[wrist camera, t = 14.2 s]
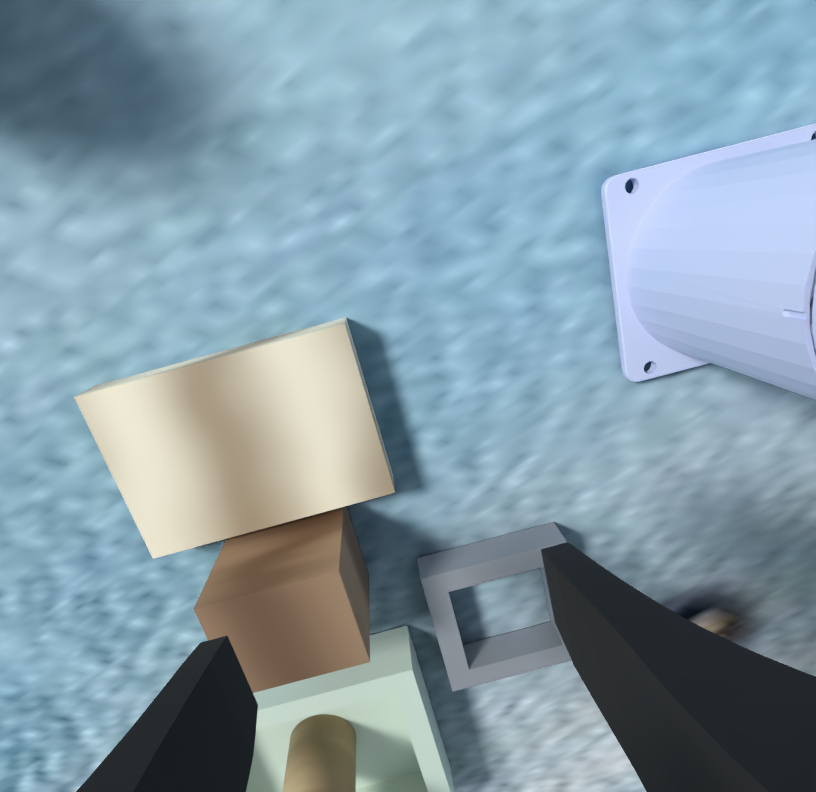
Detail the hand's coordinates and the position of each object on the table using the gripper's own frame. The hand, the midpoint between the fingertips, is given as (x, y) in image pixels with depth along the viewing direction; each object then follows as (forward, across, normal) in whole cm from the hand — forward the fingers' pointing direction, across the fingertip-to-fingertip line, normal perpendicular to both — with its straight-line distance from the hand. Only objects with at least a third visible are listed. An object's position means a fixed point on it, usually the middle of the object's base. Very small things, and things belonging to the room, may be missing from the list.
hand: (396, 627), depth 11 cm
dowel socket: (+10, -4, +9) cm, 14 cm away
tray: (+11, +6, +14) cm, 19 cm away
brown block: (+10, +4, +4) cm, 12 cm away
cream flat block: (+11, +5, -2) cm, 12 cm away
